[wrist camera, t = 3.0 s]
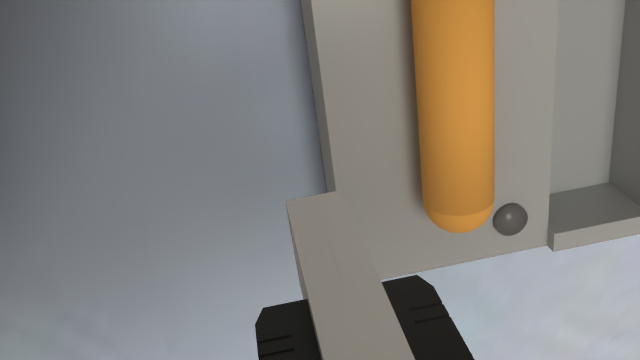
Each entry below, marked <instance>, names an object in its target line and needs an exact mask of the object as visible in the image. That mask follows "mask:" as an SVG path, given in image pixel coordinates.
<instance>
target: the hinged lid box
mask: <svg viewBox="0 0 640 360" xmlns="http://www.w3.org/2000/svg"><path fill="white" fill-rule="evenodd" d="M300 1H301V8H302V15H303V22H304V30H305V37H306V44H307V51H308V58H309V66H310V73H311V80H312V87H313V94H314V101H315V109H316V116H317V123H318V130H319V137H320V145H321V152H322V159H323V166H324V173H325V180H326V188H327V193H329V192H334V191H339V190H342V193H343V195H344V197H345V200H346V202H347V204H348V207H349V209H350V211H351V213H352V216H353V218H354V220H355V223H356V225H357V227H358V230H359V232H360V234H361V236H362V239H363V241H364V243H365V246H366V248H367V250H368V253H369V255H370V257H371V259H372V262H373V264H374V266H375V269H376V271H377V273H378V276H379V278H380V280H382V279H387V278H392V277H396V276H401V275H406V274H411V273H416V272H421V271H425V270H430V269H435V268H440V267H445V266H450V265H454V264H459V263H464V262H469V261H474V260H479V259H484V258H488V257H493V256H498V255H503V254H508V253H513V252H517V251H522V250H527V249H532V248H537V247H542V246H546V245H547V246H548V247H549V248H550V249H551V250H552V251H553V252H555V251H560V250H564V249H569V248H574V247H579V246H584V245H589V244H593V243H598V242H603V241H608V240H613V239H617V238H622V237H627V236H632V235H637V234H640V0H495V199H494V207H493V210H492V212H491V214H490V216H489V218H488V219H487V220H486V222H484V223H483V224H482V225H481V226H480V227H478V228H477V229H475V230H472V231H470V232H466V233H452V232H448V231H446V230H443V229H441V228H439V227H438V226H437V225H435V224H434V223H433V222H432V221H431V219H430V218H429V217H428V215H427V213H426V211H425V208H424V204H423V195H422V178H421V161H420V145H419V128H418V112H417V95H416V79H415V62H414V45H413V29H412V12H411V0H300Z"/></svg>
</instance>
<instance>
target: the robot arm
mask: <svg viewBox="0 0 640 360" xmlns="http://www.w3.org/2000/svg"><path fill="white" fill-rule="evenodd" d="M286 207H287V213H288V218H289V224H290V230H291V235H292V241H293V247H294V253H295V258H296V264H297V270H298V275H299V281H300V287H301V291H302V295H303V300H300V301H295V302H290V303H285V304H280V305H275V306H270V307H265V308H263V309H262V311H261V313H260V315H259V318H258V320H257V322H256V324H255V328H256V339H257V349H258V357H259V360H474V358H473V356H472V354H471V353H470V351H469V349H468V347H467V345H466V344H465V342H464V340H463V338H462V337H461V335H460V333H459V331H458V329H457V328H456V326H455V324H454V322H453V321H452V319H451V317H449V313H448V312H447V310H446V308H445V306H444V305H442V301H441V299H440V297H439V296H438V294H437V292H436V290H435V289H434V287H433V286H432V285H431V284H429V283H428V282H426V281H425V280H423V279H422V278H421V277H419V276H418V275H414V276H409V277H405V278H400V279H395V280H390V281H385V282H381V280H380V278H379V276H378V273H377V271H376V269H375V266H374V264H373V262H372V259H371V257H370V255H369V253H368V250H367V248H366V246H365V243H364V241H363V239H362V236H361V234H360V232H359V230H358V227H357V225H356V223H355V220H354V218H353V216H352V213H351V211H350V209H349V207H348V204H347V202H346V200H345V197H344V195H343V193H342V190H339V191H334V192H329V193H324V194H318V195H313V196H308V197H302V198H297V199H292V200H287V201H286Z"/></svg>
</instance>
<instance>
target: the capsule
mask: <svg viewBox="0 0 640 360" xmlns="http://www.w3.org/2000/svg"><path fill="white" fill-rule="evenodd" d="M411 12H412V29H413V45H414V62H415V79H416V95H417V112H418V128H419V145H420V161H421V178H422V195H423V204H424V208H425V211H426V213H427V215H428V217H429V218H430V219H431V221H432V222H433V223H434V224H435V225H437V226H438V227H439V228H441V229H443V230H446V231H448V232H452V233H466V232H470V231H472V230H475V229H477V228H478V227H480V226H481V225H482V224H483V223H484V222H486V220H487V219H488V218H489V216H490V214H491V212H492V210H493V207H494V199H495V0H411Z"/></svg>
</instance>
